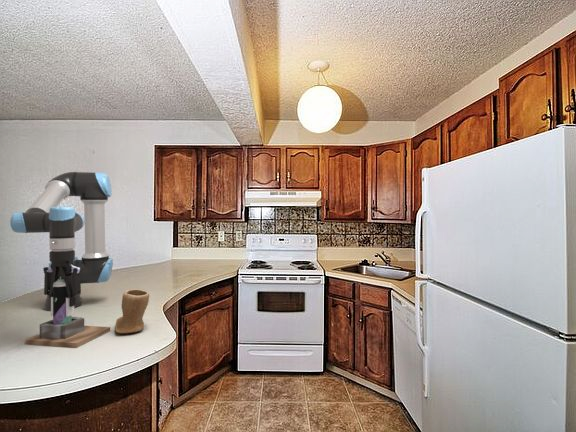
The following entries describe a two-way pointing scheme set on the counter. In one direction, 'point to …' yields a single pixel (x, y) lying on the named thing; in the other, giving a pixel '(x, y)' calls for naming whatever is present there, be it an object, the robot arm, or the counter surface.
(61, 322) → the spray can
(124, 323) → the tan boot-shaped piece
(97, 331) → the socket board
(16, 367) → the counter surface
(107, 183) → the robot arm
